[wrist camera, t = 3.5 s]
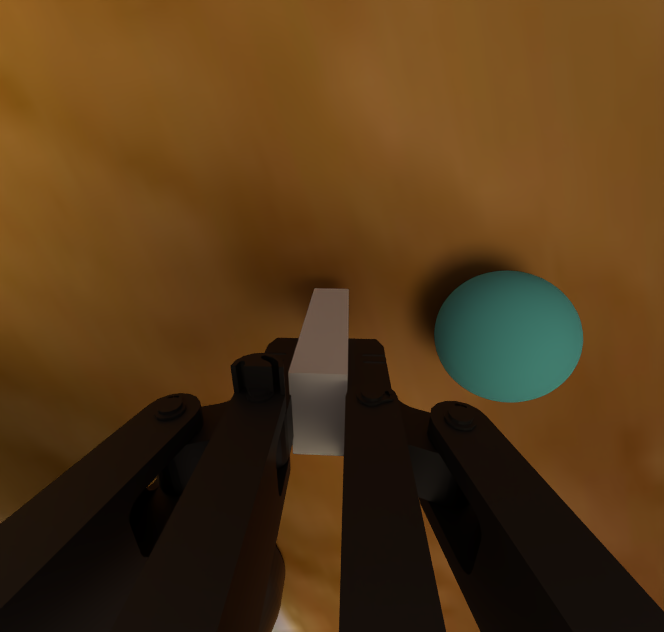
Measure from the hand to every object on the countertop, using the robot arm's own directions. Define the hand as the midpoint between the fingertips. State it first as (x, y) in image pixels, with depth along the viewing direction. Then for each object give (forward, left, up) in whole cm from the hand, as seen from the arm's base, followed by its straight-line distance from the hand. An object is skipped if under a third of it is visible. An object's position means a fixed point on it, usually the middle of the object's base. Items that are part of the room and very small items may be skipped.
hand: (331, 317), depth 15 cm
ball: (+7, 0, +1) cm, 7 cm away
